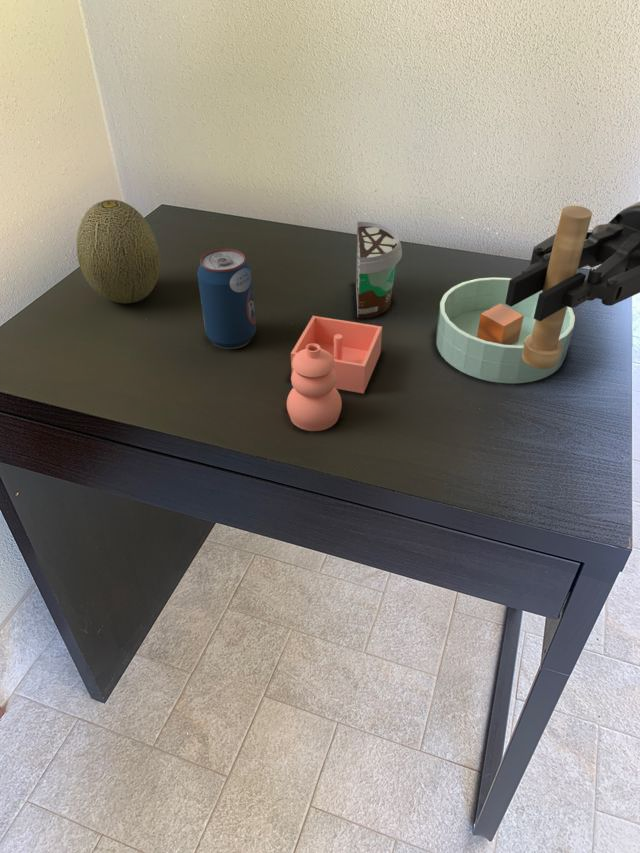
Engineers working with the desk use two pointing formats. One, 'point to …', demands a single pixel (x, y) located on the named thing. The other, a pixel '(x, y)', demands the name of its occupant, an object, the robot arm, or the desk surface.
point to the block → (500, 325)
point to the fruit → (118, 252)
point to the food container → (375, 267)
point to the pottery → (330, 369)
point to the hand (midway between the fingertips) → (525, 300)
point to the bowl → (482, 356)
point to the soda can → (227, 298)
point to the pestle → (563, 264)
